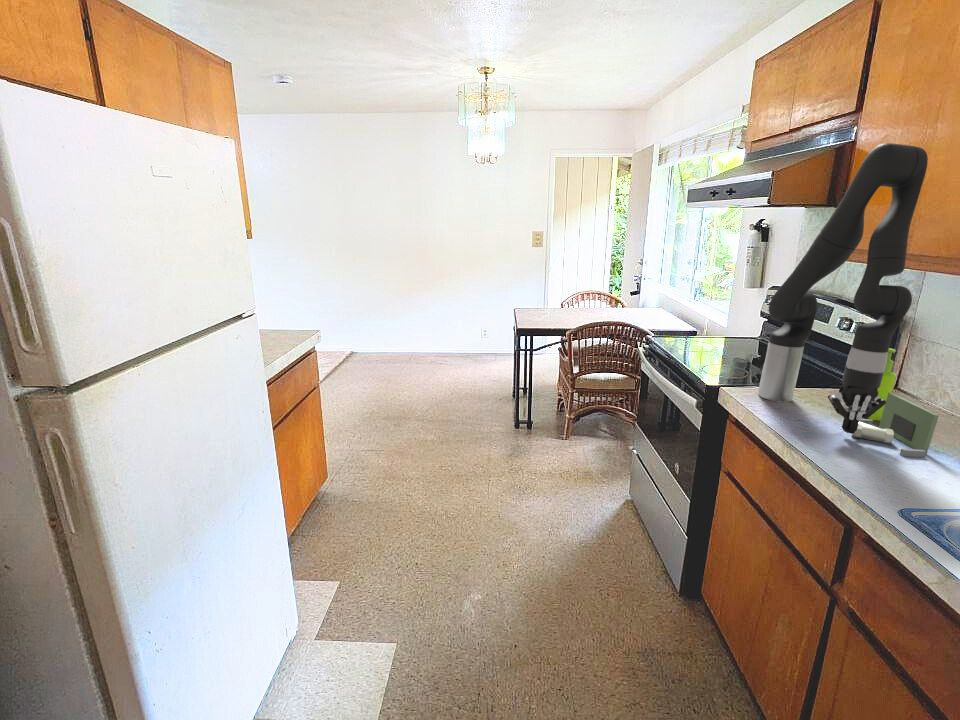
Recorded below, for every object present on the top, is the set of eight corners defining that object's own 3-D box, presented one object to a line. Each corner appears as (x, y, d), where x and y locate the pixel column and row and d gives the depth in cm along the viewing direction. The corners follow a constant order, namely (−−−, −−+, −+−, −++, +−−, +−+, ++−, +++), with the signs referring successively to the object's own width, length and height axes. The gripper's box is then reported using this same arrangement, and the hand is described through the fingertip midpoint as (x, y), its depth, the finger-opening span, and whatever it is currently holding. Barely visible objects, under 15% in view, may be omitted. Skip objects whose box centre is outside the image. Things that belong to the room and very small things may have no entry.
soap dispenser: (855, 409, 145) (873, 343, 139) (885, 416, 140) (904, 348, 134) (851, 414, 141) (869, 347, 135) (882, 422, 136) (901, 352, 130)
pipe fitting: (846, 431, 131) (852, 439, 126) (850, 417, 131) (855, 424, 125) (884, 438, 128) (891, 446, 122) (887, 423, 127) (895, 431, 121)
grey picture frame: (850, 423, 135) (859, 389, 132) (877, 424, 134) (887, 390, 131) (902, 456, 117) (913, 417, 114) (933, 457, 116) (945, 418, 114)
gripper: (882, 363, 124) (865, 427, 129) (827, 361, 125) (812, 424, 129) (905, 372, 116) (886, 439, 121) (846, 370, 117) (829, 436, 122)
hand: (848, 431), depth 125 cm, fingers closed
